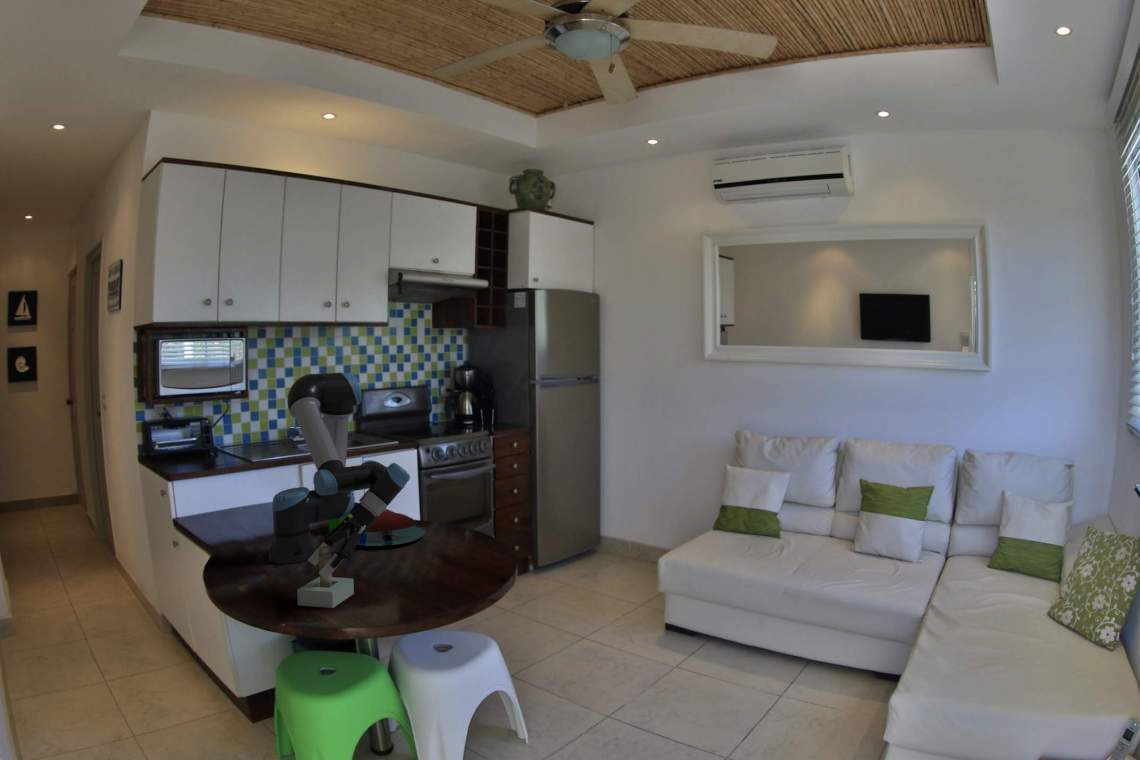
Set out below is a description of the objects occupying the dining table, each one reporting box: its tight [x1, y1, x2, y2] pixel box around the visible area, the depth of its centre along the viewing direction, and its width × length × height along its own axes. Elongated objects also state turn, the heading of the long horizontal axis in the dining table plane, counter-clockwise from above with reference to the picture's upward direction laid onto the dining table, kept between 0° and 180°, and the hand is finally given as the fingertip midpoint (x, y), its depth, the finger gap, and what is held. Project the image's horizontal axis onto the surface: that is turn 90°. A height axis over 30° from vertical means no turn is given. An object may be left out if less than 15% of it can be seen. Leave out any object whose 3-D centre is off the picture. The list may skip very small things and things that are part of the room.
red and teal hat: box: [357, 507, 426, 547], centre depth 254 cm, size 28×28×11 cm
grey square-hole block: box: [296, 576, 355, 609], centre depth 194 cm, size 11×11×4 cm
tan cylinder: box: [318, 546, 333, 588], centre depth 194 cm, size 3×3×15 cm
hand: (316, 569), depth 193 cm, fingers open, 13 cm apart
